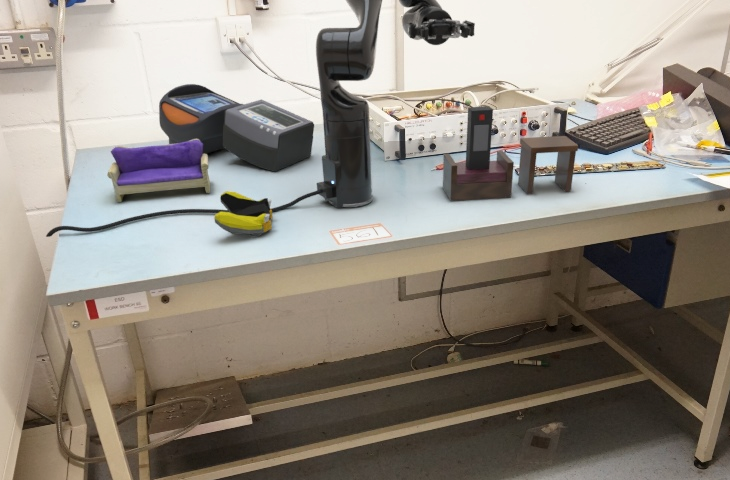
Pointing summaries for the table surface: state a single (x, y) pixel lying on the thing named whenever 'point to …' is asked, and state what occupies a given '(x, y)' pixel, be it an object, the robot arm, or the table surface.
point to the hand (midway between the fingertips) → (446, 33)
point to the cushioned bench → (476, 187)
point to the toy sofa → (159, 168)
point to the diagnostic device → (236, 127)
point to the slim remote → (479, 137)
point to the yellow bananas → (244, 214)
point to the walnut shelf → (547, 145)
